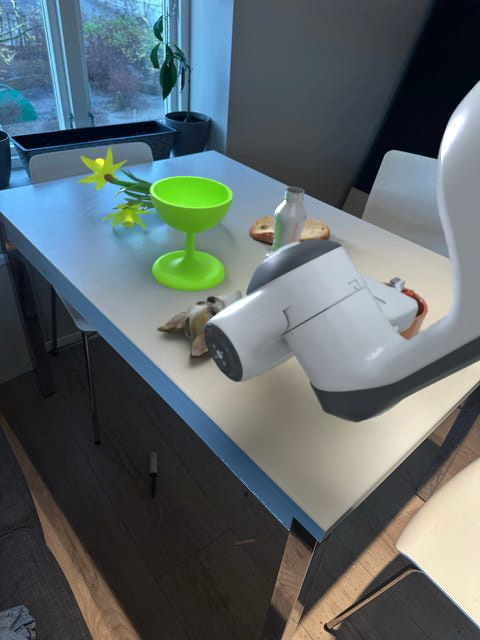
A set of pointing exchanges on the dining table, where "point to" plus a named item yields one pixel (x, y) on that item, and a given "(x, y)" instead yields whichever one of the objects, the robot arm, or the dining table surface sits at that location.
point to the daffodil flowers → (129, 209)
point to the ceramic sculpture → (199, 321)
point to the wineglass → (190, 229)
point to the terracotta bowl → (419, 317)
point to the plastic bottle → (289, 218)
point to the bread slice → (311, 229)
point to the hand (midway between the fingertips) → (370, 268)
